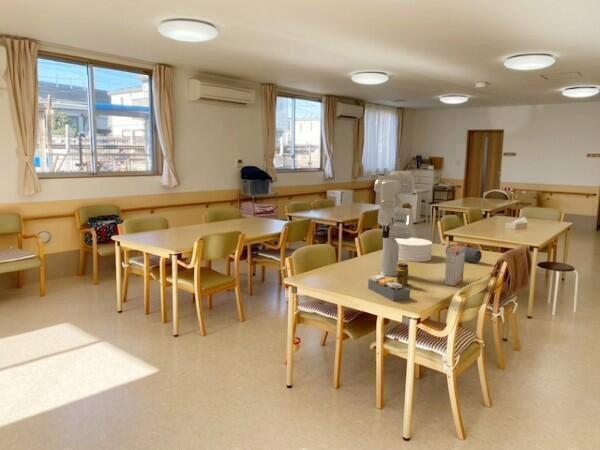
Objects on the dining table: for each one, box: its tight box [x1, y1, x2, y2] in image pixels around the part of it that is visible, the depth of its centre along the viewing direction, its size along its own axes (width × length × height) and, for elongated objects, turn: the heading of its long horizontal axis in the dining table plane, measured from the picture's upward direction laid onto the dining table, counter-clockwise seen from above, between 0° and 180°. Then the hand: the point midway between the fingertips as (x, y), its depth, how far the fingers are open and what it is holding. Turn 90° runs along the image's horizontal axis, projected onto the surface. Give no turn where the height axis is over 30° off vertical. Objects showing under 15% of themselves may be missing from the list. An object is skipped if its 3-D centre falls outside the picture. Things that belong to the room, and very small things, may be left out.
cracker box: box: [444, 244, 466, 287], centre depth 258 cm, size 14×6×21 cm, turn 141°
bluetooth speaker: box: [445, 244, 483, 263], centre depth 315 cm, size 23×9×10 cm, turn 37°
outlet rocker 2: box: [378, 276, 395, 285], centre depth 236 cm, size 6×4×2 cm
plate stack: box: [395, 237, 433, 262], centre depth 323 cm, size 28×28×12 cm
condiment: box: [396, 262, 412, 288], centre depth 253 cm, size 7×8×12 cm
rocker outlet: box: [386, 282, 402, 289], centre depth 229 cm, size 6×4×2 cm
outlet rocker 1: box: [370, 273, 387, 282], centre depth 242 cm, size 6×4×2 cm
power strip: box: [367, 278, 411, 302], centre depth 237 cm, size 10×23×5 cm, turn 24°
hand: (385, 237), depth 248 cm, fingers closed
